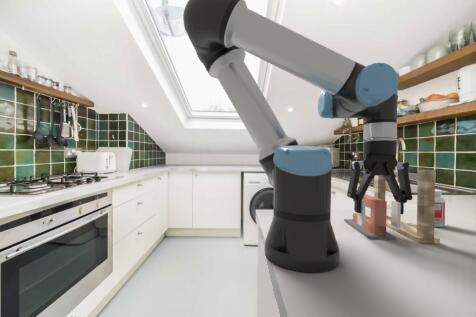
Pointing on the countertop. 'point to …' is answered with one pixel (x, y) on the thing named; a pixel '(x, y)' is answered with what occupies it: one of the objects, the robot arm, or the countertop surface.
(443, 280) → the countertop surface
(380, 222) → the c link
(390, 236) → the mat
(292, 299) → the countertop surface
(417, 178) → the stand
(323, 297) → the countertop surface
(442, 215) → the pill bottle
